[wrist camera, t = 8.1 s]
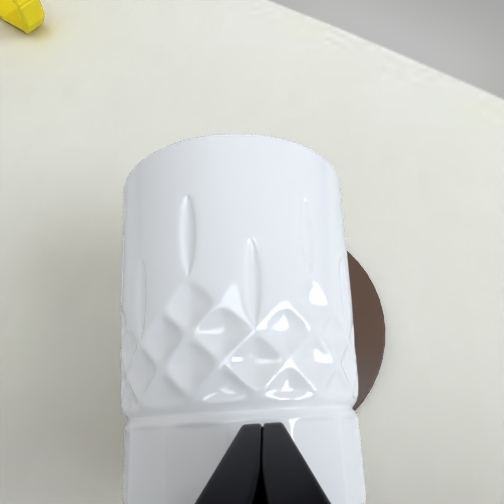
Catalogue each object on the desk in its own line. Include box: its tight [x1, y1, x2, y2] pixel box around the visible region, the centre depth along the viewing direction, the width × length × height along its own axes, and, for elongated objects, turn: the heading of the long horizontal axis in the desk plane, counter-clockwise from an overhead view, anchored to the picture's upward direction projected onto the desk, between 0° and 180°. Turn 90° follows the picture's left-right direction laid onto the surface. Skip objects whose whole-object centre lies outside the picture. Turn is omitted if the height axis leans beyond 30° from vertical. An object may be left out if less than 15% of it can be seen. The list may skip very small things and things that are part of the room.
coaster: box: [347, 251, 385, 411], centre depth 18 cm, size 10×10×1 cm
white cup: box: [121, 134, 366, 504], centre depth 14 cm, size 8×8×10 cm
